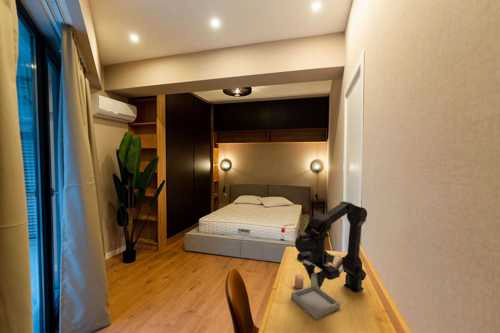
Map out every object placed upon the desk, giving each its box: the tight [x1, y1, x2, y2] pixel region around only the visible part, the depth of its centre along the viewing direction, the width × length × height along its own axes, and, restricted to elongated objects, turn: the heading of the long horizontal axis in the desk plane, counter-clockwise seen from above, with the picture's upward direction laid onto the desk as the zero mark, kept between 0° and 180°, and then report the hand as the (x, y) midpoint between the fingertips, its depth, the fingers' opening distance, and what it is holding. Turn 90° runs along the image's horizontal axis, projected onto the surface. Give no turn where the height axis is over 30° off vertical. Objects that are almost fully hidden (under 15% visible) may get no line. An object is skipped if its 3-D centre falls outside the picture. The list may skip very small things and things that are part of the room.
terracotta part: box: [294, 273, 305, 290], centre depth 101 cm, size 4×4×5 cm
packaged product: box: [324, 254, 344, 274], centre depth 122 cm, size 18×5×10 cm
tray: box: [290, 285, 341, 321], centre depth 89 cm, size 14×14×3 cm
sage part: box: [310, 271, 322, 289], centre depth 89 cm, size 4×4×5 cm
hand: (315, 284), depth 89 cm, fingers closed on sage part, 4 cm apart
